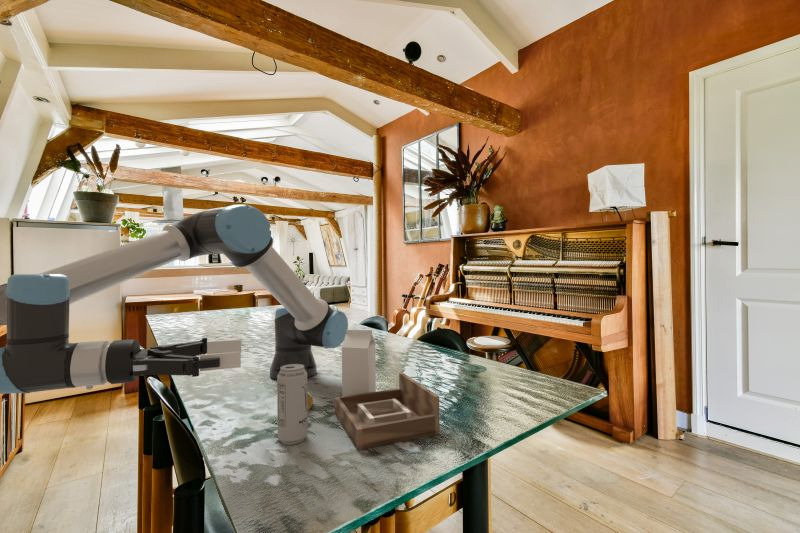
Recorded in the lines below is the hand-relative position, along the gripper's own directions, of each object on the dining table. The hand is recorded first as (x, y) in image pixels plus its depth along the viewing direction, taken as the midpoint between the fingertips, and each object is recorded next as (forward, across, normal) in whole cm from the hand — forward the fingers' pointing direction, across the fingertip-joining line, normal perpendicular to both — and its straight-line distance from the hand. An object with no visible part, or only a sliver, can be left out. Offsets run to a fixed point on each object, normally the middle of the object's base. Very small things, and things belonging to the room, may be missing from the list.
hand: (241, 351), depth 74 cm
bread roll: (+13, -18, -19) cm, 29 cm away
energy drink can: (+10, 0, -19) cm, 22 cm away
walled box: (+30, 0, -19) cm, 35 cm away
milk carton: (+29, -16, -19) cm, 38 cm away
